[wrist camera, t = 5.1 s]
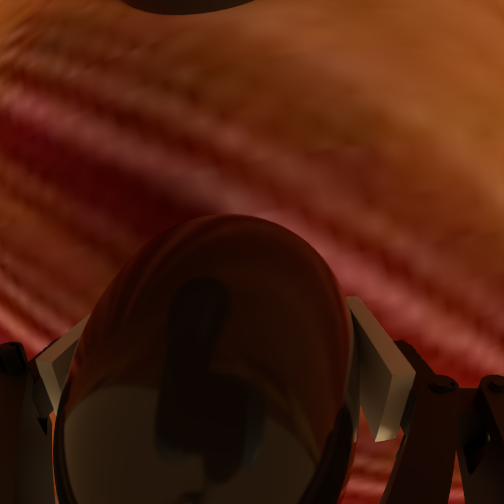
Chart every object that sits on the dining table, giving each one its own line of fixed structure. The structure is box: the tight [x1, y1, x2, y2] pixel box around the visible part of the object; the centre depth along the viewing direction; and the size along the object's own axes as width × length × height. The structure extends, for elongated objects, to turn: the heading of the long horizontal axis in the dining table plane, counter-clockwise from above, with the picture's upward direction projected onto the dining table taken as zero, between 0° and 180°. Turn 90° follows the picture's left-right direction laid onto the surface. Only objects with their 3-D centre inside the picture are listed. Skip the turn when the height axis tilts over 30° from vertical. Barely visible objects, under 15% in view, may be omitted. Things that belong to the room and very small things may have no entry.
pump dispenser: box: [53, 214, 360, 504], centre depth 10 cm, size 10×10×15 cm
